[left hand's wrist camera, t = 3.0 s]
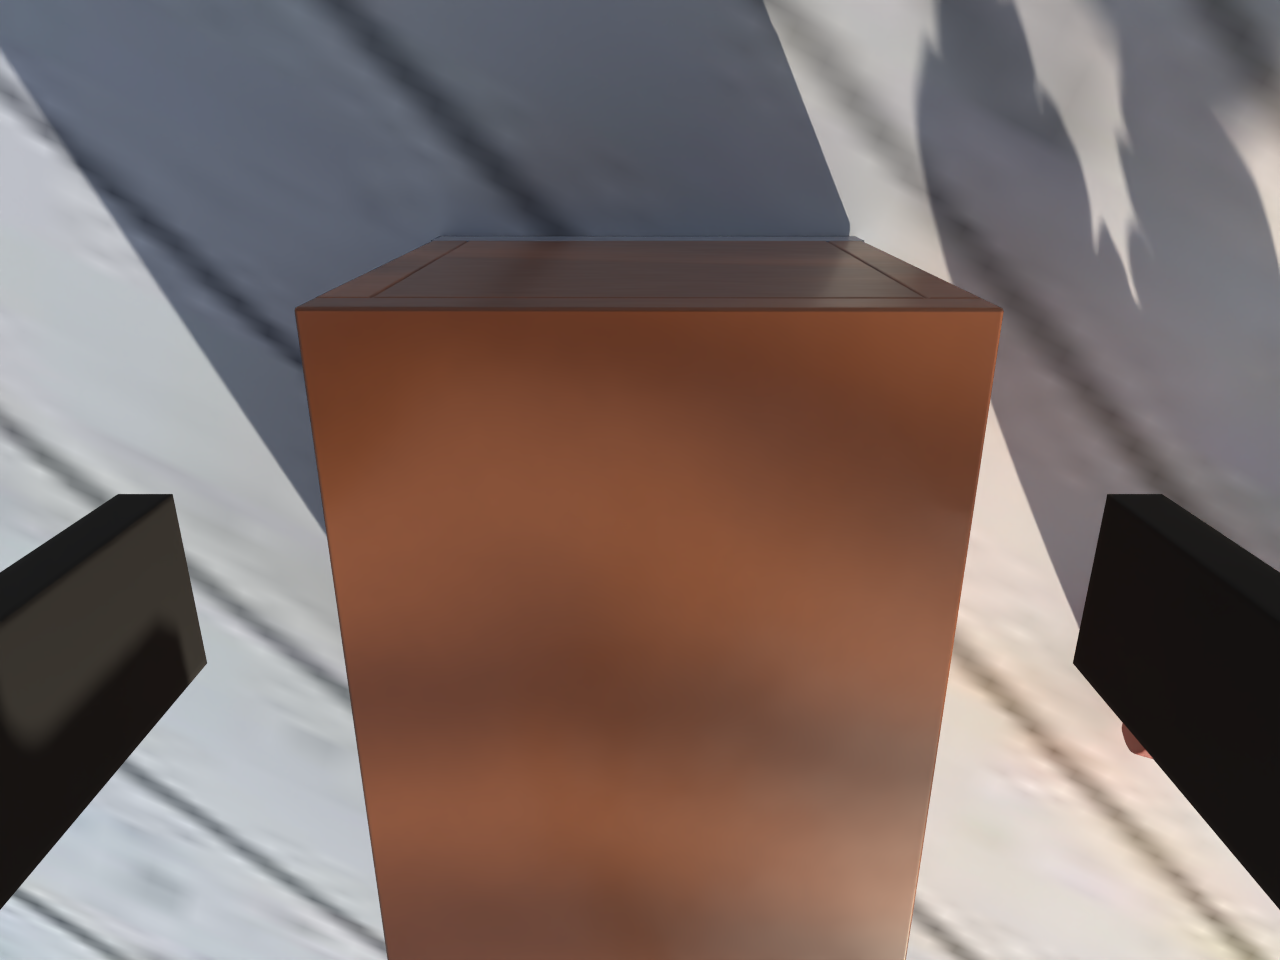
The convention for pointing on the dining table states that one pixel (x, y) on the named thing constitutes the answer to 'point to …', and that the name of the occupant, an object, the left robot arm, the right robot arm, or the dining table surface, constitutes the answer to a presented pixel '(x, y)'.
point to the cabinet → (647, 585)
